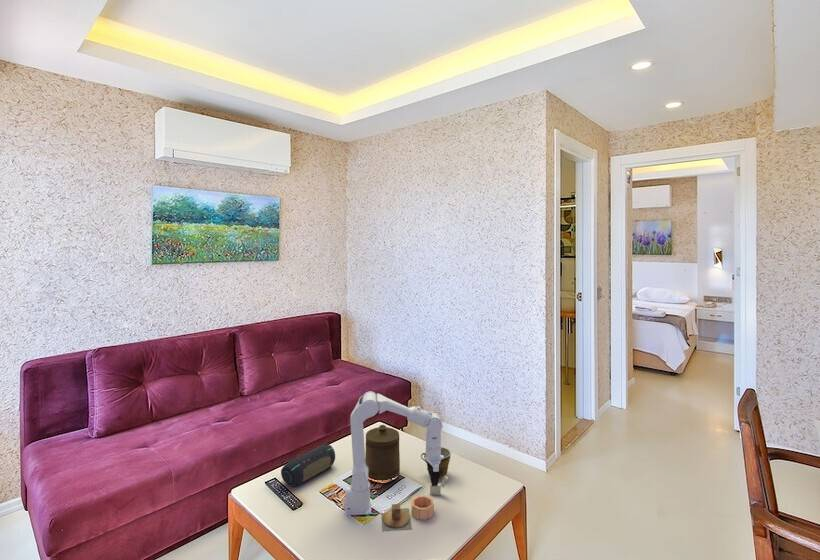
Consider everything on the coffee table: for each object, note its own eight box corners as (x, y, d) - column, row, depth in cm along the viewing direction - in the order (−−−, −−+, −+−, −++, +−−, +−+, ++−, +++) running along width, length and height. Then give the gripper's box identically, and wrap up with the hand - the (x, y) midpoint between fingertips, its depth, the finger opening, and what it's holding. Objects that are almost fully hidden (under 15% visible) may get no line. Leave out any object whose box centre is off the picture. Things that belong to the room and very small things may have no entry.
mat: (382, 532, 146) (382, 531, 146) (381, 510, 158) (381, 509, 158) (411, 530, 147) (411, 529, 147) (408, 509, 159) (408, 508, 159)
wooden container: (388, 462, 193) (388, 415, 191) (406, 477, 181) (406, 427, 179) (359, 471, 185) (359, 423, 183) (375, 488, 172) (375, 436, 171)
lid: (383, 528, 147) (383, 515, 147) (382, 511, 157) (382, 499, 156) (410, 527, 148) (410, 514, 148) (408, 510, 157) (408, 498, 157)
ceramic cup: (450, 469, 187) (450, 447, 186) (450, 481, 177) (450, 458, 176) (421, 467, 188) (421, 446, 188) (419, 479, 178) (420, 457, 178)
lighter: (429, 495, 168) (430, 476, 167) (430, 492, 169) (430, 473, 169) (447, 496, 166) (447, 477, 166) (447, 494, 168) (448, 475, 167)
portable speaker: (293, 493, 169) (293, 469, 168) (278, 484, 175) (278, 461, 174) (339, 466, 189) (339, 445, 188) (324, 460, 195) (324, 439, 194)
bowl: (412, 521, 152) (412, 509, 151) (410, 507, 160) (410, 496, 159) (434, 520, 153) (434, 508, 152) (431, 506, 161) (431, 495, 160)
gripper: (447, 454, 153) (446, 490, 154) (440, 436, 167) (440, 469, 168) (427, 455, 152) (427, 491, 153) (422, 437, 166) (422, 470, 167)
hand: (433, 479), depth 161 cm, fingers open, 7 cm apart
